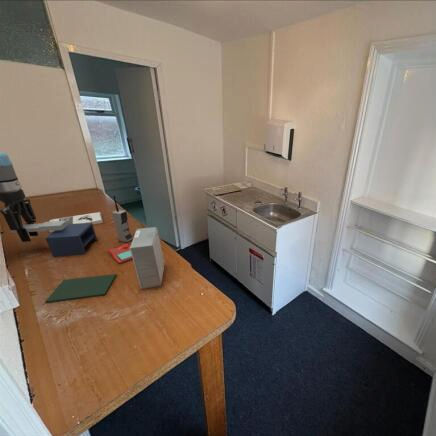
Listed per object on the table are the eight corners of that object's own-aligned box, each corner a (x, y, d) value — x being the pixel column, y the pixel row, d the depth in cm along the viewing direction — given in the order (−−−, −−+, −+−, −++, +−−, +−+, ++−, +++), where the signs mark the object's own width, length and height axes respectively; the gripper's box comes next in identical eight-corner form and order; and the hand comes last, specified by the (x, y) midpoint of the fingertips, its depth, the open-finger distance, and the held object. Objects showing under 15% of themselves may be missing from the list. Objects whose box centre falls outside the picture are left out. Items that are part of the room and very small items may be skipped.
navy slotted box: (53, 256, 107) (45, 238, 103) (69, 241, 119) (62, 224, 115) (84, 254, 110) (78, 235, 106) (97, 239, 122) (92, 222, 118)
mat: (45, 303, 83) (45, 301, 83) (64, 281, 93) (63, 279, 93) (105, 295, 88) (104, 293, 88) (116, 275, 99) (116, 273, 98)
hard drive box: (145, 267, 105) (137, 228, 97) (164, 264, 108) (157, 226, 99) (140, 290, 92) (129, 247, 84) (161, 286, 95) (153, 244, 86)
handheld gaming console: (128, 242, 120) (140, 254, 111) (128, 244, 120) (141, 256, 112) (107, 249, 113) (118, 262, 105) (107, 251, 113) (119, 264, 105)
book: (49, 232, 125) (48, 229, 124) (51, 222, 135) (50, 219, 134) (103, 222, 139) (102, 219, 138) (101, 214, 148) (100, 211, 148)
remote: (11, 233, 102) (8, 228, 101) (19, 228, 106) (17, 223, 105) (62, 230, 107) (60, 225, 106) (67, 225, 111) (66, 220, 110)
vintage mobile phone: (127, 242, 122) (116, 197, 111) (119, 241, 122) (107, 196, 112) (133, 239, 125) (122, 195, 115) (125, 237, 126) (113, 194, 115)
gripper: (4, 197, 91) (27, 247, 101) (34, 184, 106) (52, 229, 116) (-22, 197, 89) (5, 249, 98) (13, 184, 104) (32, 230, 114)
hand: (30, 238), depth 107 cm, fingers closed on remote, 5 cm apart
